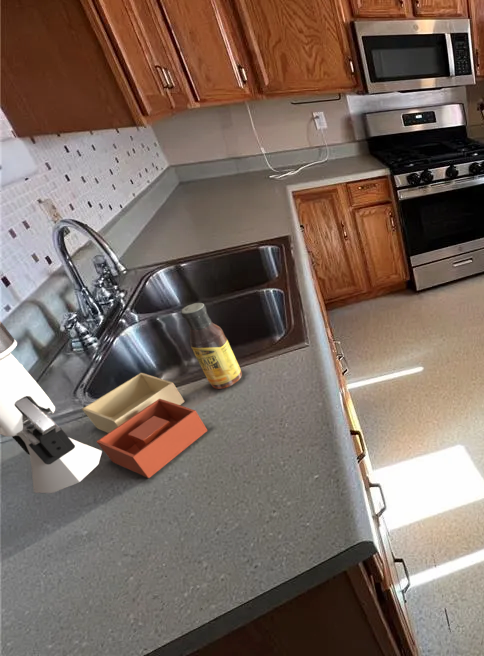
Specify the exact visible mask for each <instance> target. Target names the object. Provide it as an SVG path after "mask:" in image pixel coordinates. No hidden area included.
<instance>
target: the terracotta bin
mask: <svg viewBox="0 0 484 656" xmlns="http://www.w3.org/2000/svg"><path fill="white" fill-rule="evenodd" d="M153 416H156V417H159V418H161V419H164V420H167V421H169V422H170V424H171V425H172V427H171V428H170V429H168V430H167V431H166V432H164V433H163V434H162V435H160V436H159V437H158V438H156V439H155V440H154V441H152V442H151V443H150V444H148V445H147V446H146V447H144V448H143V449H142V450H139V448H138V447H137V446H136V444H135V443H134V442H133V440H132V439H131V438H130V436H129V435H128V434H129V433H130V432H132V431H133V430H134V429H136V428H137V427H139V426H140V425H142V424H143V423H144V422H146V421H147V420H149V419H150V418H151V417H153ZM207 432H208V429H207V427H206V425H205V424H204V422H203V421H202V419H201V417H200V415H199V414H198V412H197V410H196V409H192V408H190V407H186V406H183V405H182V404H181V405H178V404H175V403H172V402H169V401H166V400H163V399H158V400H157V401H155V402H154V403H152V404H151V405H149V406H148V407H146V408H145V409H143V410H142V411H140V412H139V413H137V414H136V415H135V416H133V417H132V418H130V419H129V420H127V421H126V422H124V423H123V424H121V425H120V426H118V427H117V428H115V429H114V430H112V431H111V432H109V433H107V434H104V435H103V436H102V437H101V438H99V439H97V440H96V442H95V443H96V444H97V445H98V446H99V447H100V449H101V451H102V452H104V453H105V455H106V456H107V457H108V458H109V460H110V461H111V462H112V463H114V464H116V465H118V466H120V467H122V468H125V469H127V470H130V471H132V472H134V473H136V474H138V475H141V476H143V477H145V478H147V479H150V478H151V477H153V476H154V475H155V474H156V473H158V472H159V471H160V470H161V469H162V468H164V467H165V466H166V465H167V464H168V463H170V462H171V461H172V460H174V458H176V457H177V456H178V455H180V454H181V453H182V452H183V451H185V450H186V449H187V448H188V447H190V446H191V445H192V444H194V442H196V441H197V440H198V439H199V438H200V437H202V436H203V435H204V434H205V433H207Z"/></svg>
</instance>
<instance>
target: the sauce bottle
mask: <svg viewBox="0 0 484 656" xmlns="http://www.w3.org/2000/svg"><path fill="white" fill-rule="evenodd" d="M180 313H181V316H182V318H183V319H185V322H186V323H187V325H188V328H189V342H190V343H189V344H190V348H191V350H192V352H193V354H194V356H195V358H196V360H197V362H198V364H199V366H200V368H201V370H202V371H203V374H204V375H205V377H206V379H207V382H208V383H209V384H210V386H211V387H212V388H214V389H215V390H221V389H227V388H230V387H231V386H233V385H235V384H237V382H239V381H240V380H241V378H242V375H243V372H242V370H241V367H240V365H239V362H238V360H237V358H236V356H235V353H234V351H233V350H232V346H231V345H230V342H229V340H228V338H227V337H226V335H225V333H224V330H223V329H222V328H221V326H219V325H217V324H215V323H213V321H212V319H211V318H210V315H209V314H208V312H207V306H206V305H205V304H204V303H202V302H195V303H192V304H189V305H186V306H184V307H183V308H182V309H181V310H180Z"/></svg>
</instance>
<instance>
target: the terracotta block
mask: <svg viewBox="0 0 484 656" xmlns="http://www.w3.org/2000/svg"><path fill="white" fill-rule="evenodd" d="M171 427H172V425H171V424H170V422H169V421H167V420H164V419H161V418H159V417H156V416H153V417H151V418H150V419H149V420H147V421H146V422H144V423H143V424H142V425H140V426H139V427H137V428H136V429H134V430H133V431H132V432H130V433H129V434H128V435H129V436H130V438H131V439H132V440H133V442H134V443H135V444H136V446H137V447H138V448H139V450H142V449H143V448H144V447H146V446H147V445H148V444H150V443H151V442H152V441H154V440H155V439H156V438H158V437H159V436H160V435H162V434H163V433H164V432H166V431H167V430H168V429H170V428H171Z"/></svg>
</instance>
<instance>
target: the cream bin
mask: <svg viewBox="0 0 484 656" xmlns="http://www.w3.org/2000/svg"><path fill="white" fill-rule="evenodd" d="M158 399H163V400H166V401H169V402H172V403H175V404H178V405H181V406H182V404H184V403H185V399H184V397H183V396H182V395H181V393H180V392H179V389H178V388H177V387H176V385H175V384H174V382H173V381H170V380H167V379H163V378H161V377H157V376H153V375H150V374H147V373H145V372H140V373H138V374H137V375H135V376H133V377H132V378H130V379H128V380H127V381H125V382H124V383H122V384H120V385H119V386H117V387H116V388H114V389H112V390H110V391H109V392H107V393H106V394H104V395H102V396H101V397H99V398H97V399H96V400H94V401H92V402H91V403H89V404H88V405H86V406H84V407H82V408H81V410H82V411H83V413H84V414H85V415H86V416H87V418H88V419H89V420H90V421H91V422H92V424H93V425H94V427H95V428H96V429H98V430H99V431H102V432H105V433H107V434H108V433H109V432H111V431H112V430H114V429H115V428H117V427H118V426H120V425H121V424H123V423H124V422H126V421H127V420H129V419H130V418H132V417H133V416H135V415H136V414H137V413H139V412H140V411H142V410H143V409H145V408H146V407H148V406H149V405H151V404H152V403H154V402H155V401H157V400H158Z"/></svg>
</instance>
